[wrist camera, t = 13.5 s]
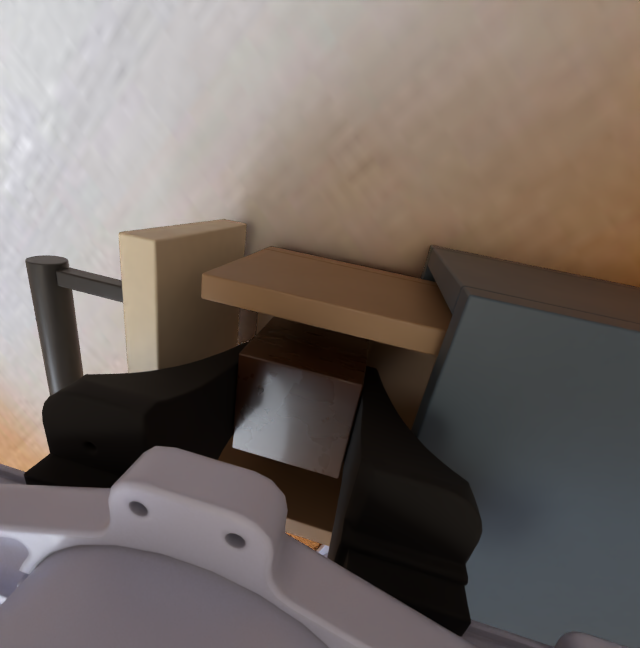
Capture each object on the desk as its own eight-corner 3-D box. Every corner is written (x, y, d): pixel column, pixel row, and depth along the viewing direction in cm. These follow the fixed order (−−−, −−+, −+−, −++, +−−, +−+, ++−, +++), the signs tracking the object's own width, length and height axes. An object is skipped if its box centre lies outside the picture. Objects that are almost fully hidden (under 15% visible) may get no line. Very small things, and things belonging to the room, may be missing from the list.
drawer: (140, 388, 20) (36, 465, 14) (130, 198, 16) (-24, 199, 10) (407, 465, 18) (414, 594, 12) (479, 272, 14) (543, 327, 8)
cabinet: (368, 451, 19) (352, 611, 12) (430, 244, 14) (469, 294, 7) (599, 518, 17) (749, 753, 10) (754, 310, 13) (1248, 465, 5)
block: (352, 404, 15) (338, 479, 11) (271, 383, 16) (231, 448, 12) (371, 328, 14) (363, 385, 10) (281, 306, 14) (238, 353, 10)
